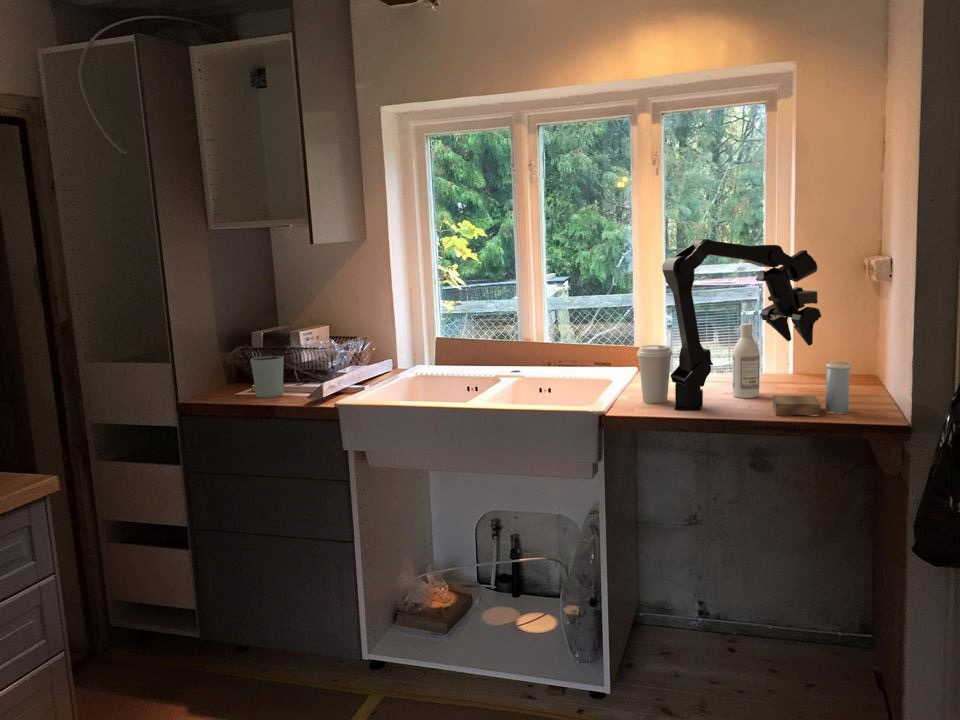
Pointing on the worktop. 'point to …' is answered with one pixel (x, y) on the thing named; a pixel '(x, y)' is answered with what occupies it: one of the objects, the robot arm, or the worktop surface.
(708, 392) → the worktop surface
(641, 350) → the coffee cup
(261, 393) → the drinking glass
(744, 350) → the bath foam
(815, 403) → the base block
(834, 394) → the canister
